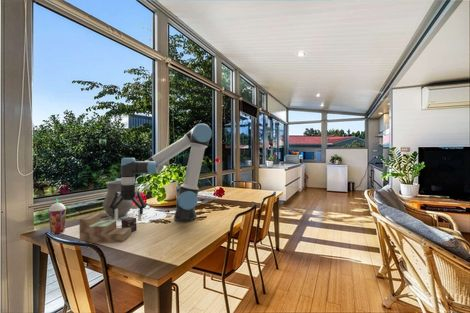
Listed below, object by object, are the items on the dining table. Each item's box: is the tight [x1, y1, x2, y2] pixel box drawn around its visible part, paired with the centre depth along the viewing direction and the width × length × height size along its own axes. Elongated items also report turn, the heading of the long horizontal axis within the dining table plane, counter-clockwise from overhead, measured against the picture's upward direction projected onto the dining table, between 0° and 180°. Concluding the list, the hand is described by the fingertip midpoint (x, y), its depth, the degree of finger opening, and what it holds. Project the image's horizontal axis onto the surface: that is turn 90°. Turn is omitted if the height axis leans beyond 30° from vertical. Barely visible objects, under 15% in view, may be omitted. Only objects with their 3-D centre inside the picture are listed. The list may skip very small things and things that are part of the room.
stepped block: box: [78, 213, 132, 243], centre depth 126 cm, size 22×10×12 cm, turn 92°
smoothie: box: [48, 197, 67, 234], centre depth 137 cm, size 8×8×20 cm
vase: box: [102, 180, 134, 218], centre depth 172 cm, size 20×19×25 cm
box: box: [121, 216, 138, 233], centre depth 138 cm, size 6×6×7 cm
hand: (128, 220), depth 138 cm, fingers open, 13 cm apart
